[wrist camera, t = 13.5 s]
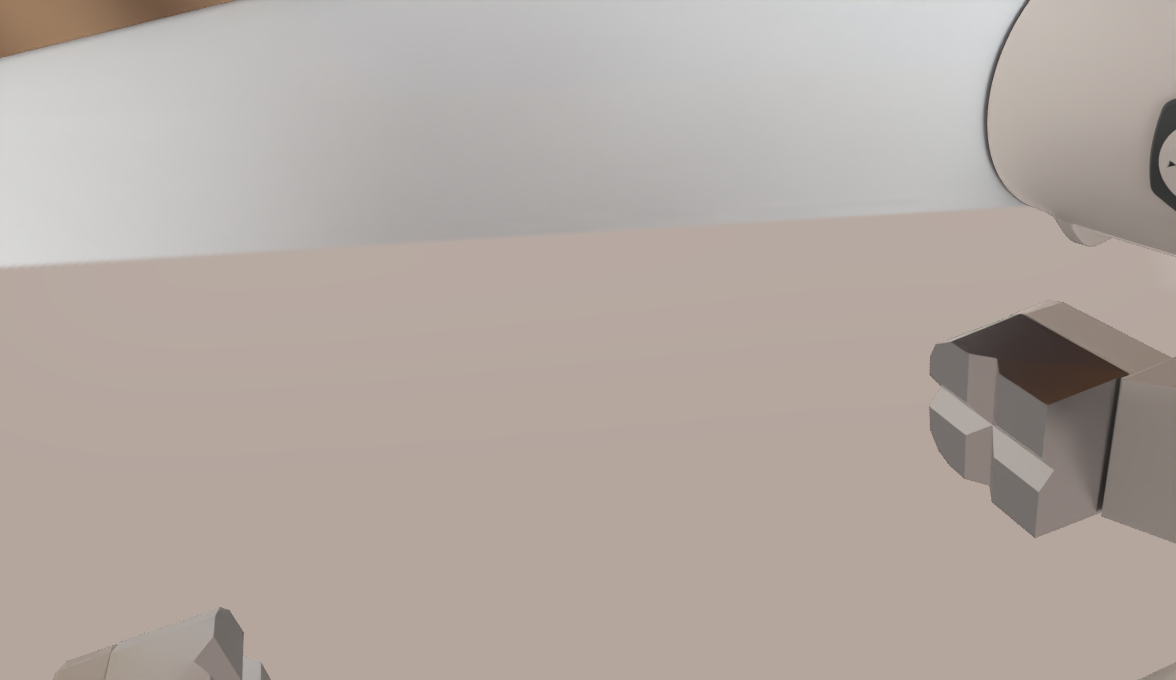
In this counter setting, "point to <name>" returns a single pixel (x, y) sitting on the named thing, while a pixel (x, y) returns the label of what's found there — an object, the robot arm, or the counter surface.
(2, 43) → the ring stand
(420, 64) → the counter surface
